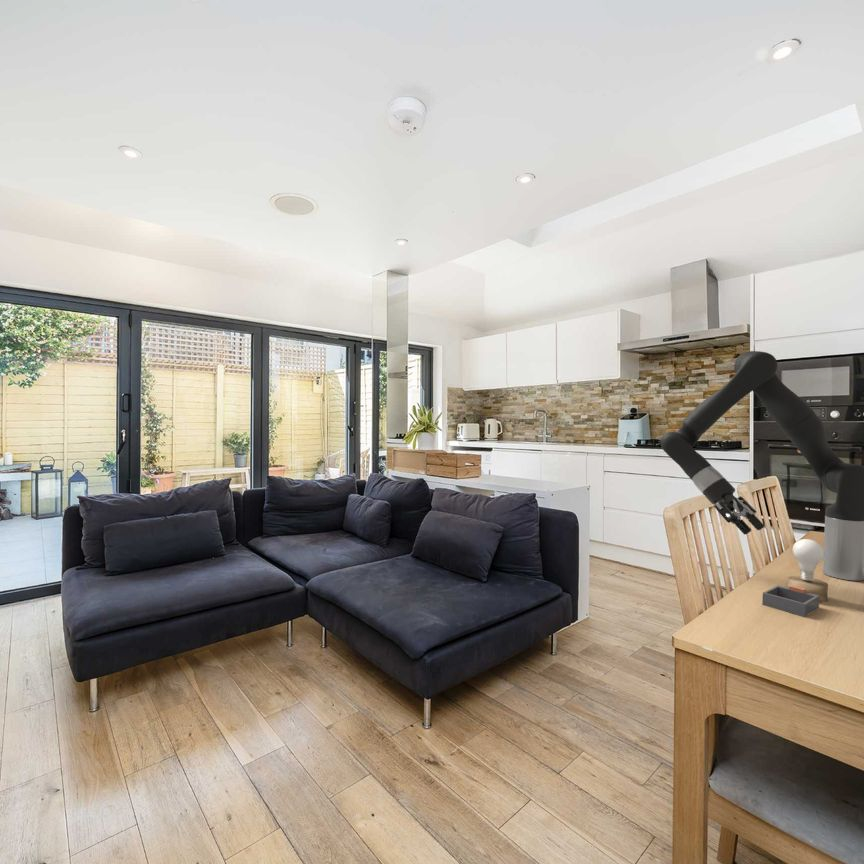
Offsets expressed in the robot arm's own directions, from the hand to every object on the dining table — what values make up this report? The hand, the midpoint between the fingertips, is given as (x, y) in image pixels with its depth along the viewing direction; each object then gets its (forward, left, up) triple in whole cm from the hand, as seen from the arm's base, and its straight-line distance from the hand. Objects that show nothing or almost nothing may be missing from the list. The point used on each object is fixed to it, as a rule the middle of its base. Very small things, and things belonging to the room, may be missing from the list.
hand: (755, 530), depth 132 cm
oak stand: (0, +12, -15) cm, 19 cm away
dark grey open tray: (+12, +12, -15) cm, 23 cm away
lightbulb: (0, +12, -11) cm, 16 cm away
